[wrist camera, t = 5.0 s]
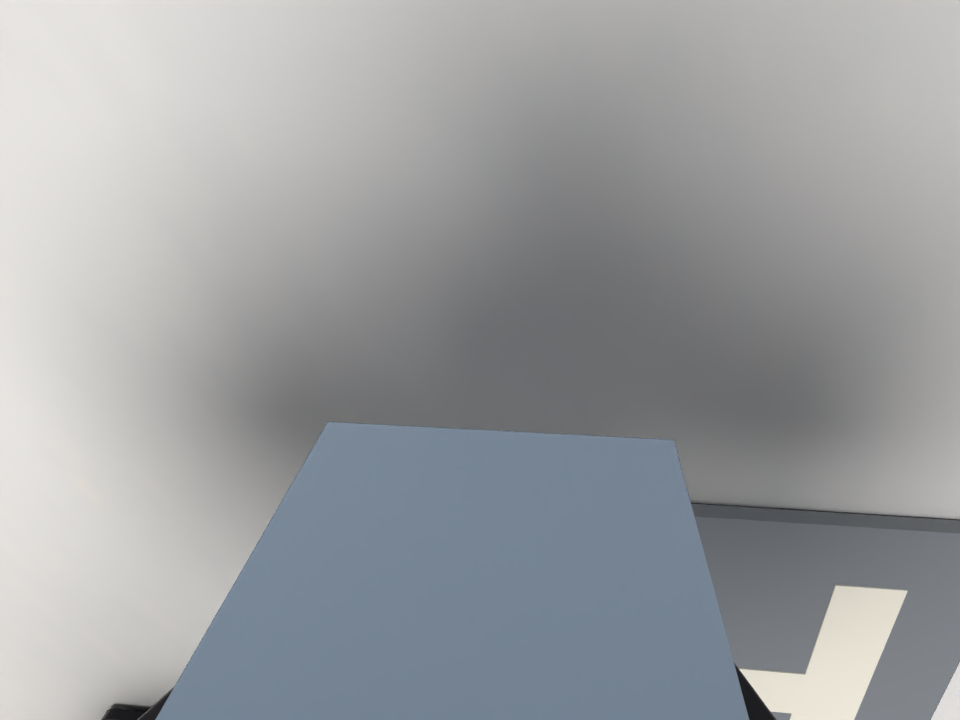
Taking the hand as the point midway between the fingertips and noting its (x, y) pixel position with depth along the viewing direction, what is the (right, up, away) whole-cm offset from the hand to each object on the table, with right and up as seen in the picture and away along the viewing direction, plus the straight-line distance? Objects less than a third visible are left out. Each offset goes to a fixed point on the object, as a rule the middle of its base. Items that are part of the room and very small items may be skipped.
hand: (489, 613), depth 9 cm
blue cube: (0, +1, +1) cm, 1 cm away
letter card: (+7, -6, +10) cm, 14 cm away
